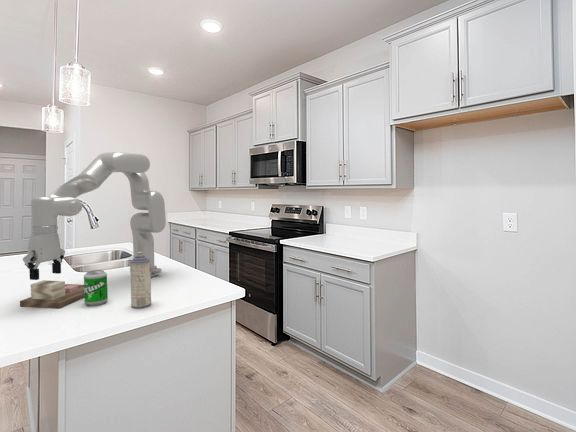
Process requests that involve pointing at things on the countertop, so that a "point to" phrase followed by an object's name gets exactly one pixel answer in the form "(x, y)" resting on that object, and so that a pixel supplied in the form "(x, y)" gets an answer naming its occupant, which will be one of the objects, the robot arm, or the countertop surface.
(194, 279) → the countertop surface
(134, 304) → the aerosol can
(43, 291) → the block
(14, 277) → the countertop surface
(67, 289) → the eraser piece
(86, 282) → the soda can
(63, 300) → the board
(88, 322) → the countertop surface
